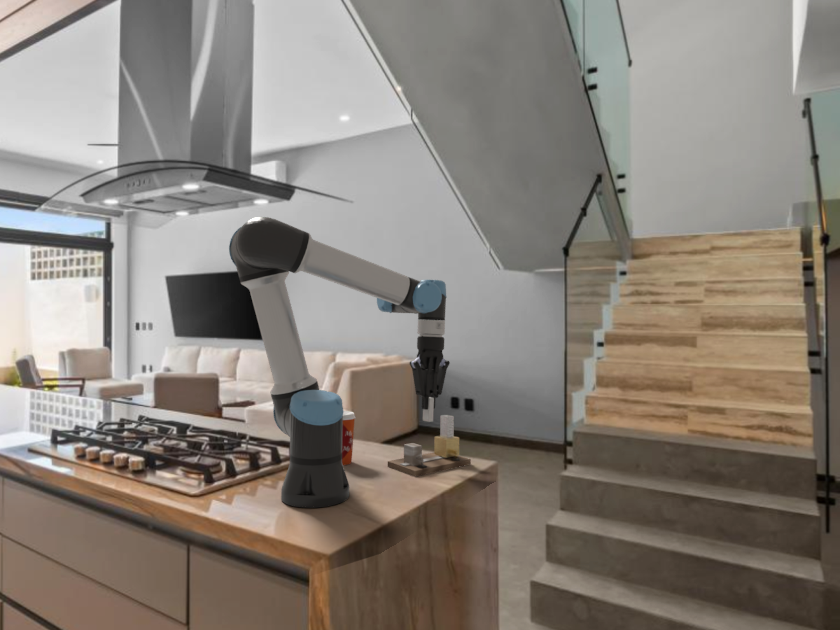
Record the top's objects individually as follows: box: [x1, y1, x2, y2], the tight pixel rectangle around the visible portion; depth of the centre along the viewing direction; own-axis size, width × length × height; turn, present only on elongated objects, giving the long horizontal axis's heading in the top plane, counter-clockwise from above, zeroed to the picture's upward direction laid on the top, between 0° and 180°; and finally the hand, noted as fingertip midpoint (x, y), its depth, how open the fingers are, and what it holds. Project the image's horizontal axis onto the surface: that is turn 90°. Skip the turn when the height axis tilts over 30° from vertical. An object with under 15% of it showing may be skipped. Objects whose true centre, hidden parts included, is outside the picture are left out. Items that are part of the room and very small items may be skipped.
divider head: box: [433, 414, 460, 458], centre depth 156 cm, size 5×7×11 cm
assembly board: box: [387, 442, 472, 478], centre depth 152 cm, size 20×12×6 cm, turn 129°
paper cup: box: [342, 410, 357, 466], centre depth 154 cm, size 8×8×14 cm
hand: (427, 420), depth 152 cm, fingers closed
